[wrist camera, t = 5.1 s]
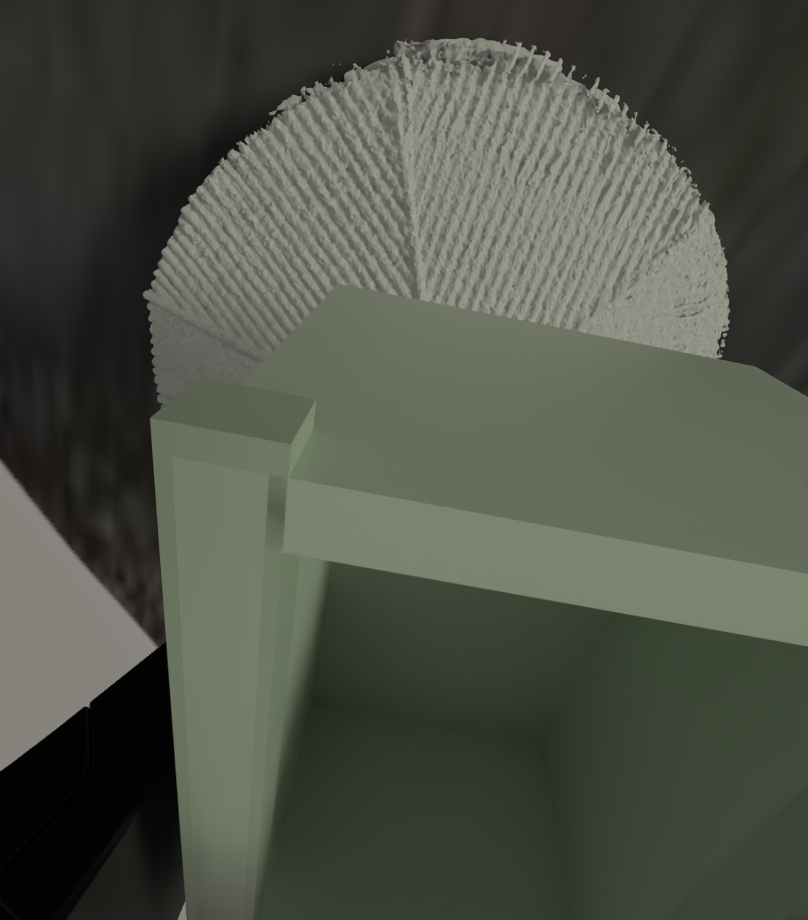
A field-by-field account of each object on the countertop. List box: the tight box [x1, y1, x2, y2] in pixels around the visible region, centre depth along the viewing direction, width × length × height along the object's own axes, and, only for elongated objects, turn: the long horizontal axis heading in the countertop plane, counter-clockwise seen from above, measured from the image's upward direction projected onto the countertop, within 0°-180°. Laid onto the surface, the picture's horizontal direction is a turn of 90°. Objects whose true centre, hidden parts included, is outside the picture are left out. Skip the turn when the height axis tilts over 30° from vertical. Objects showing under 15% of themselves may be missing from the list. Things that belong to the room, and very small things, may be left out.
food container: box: [143, 38, 730, 409], centre depth 17 cm, size 20×20×7 cm
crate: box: [150, 284, 808, 920], centre depth 7 cm, size 9×6×5 cm, turn 170°
